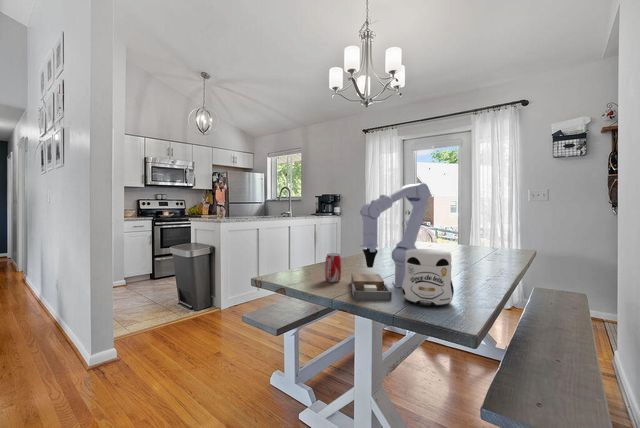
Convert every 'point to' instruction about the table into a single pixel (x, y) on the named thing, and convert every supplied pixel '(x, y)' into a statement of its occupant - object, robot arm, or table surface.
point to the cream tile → (370, 288)
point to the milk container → (428, 277)
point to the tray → (372, 294)
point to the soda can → (333, 267)
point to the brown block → (367, 281)
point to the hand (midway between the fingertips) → (369, 267)
